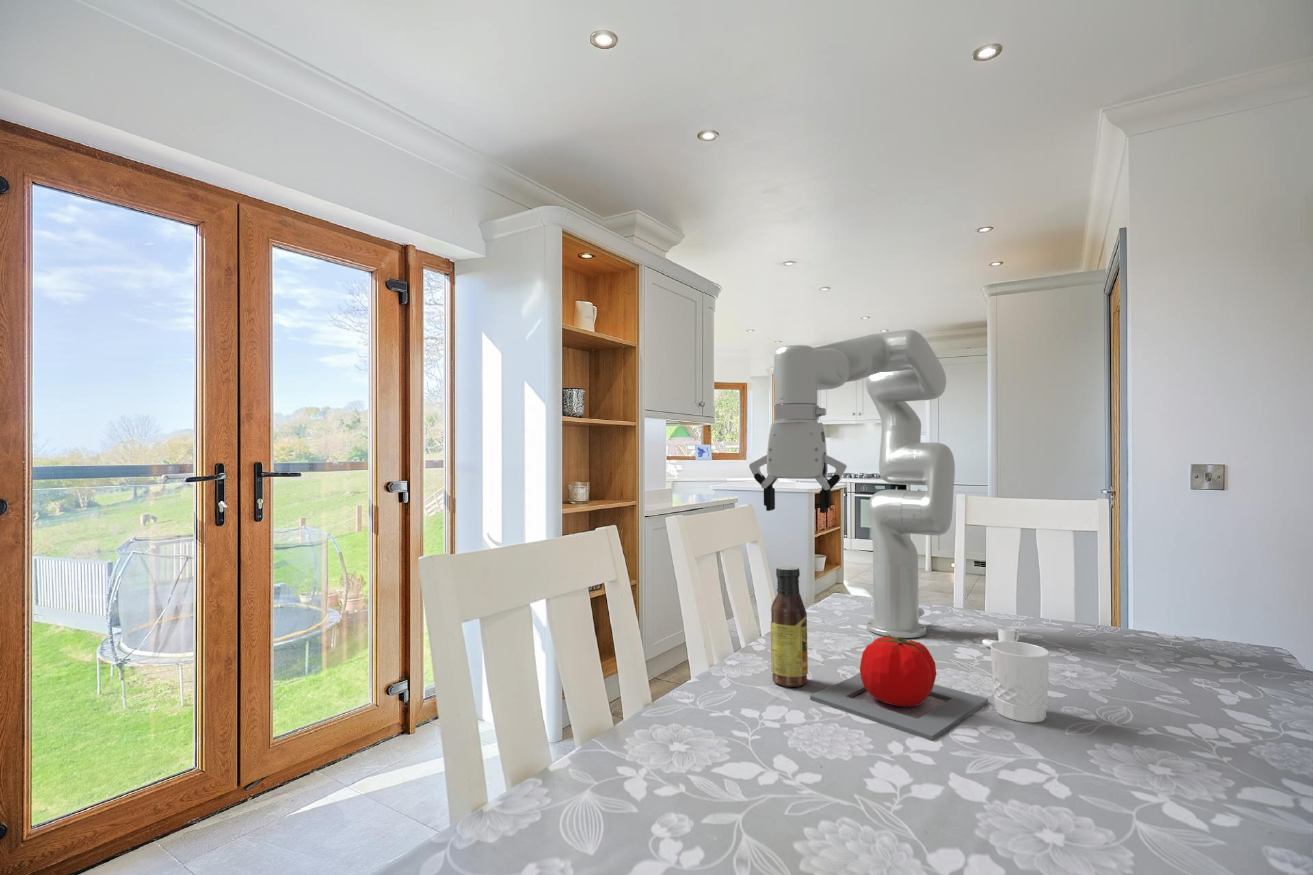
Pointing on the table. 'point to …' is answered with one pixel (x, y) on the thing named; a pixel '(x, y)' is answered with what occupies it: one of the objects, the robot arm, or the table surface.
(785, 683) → the sauce bottle
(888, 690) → the tomato
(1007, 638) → the teacup and saucer
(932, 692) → the gray picture frame
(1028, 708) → the white cup
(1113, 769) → the table surface
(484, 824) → the table surface
